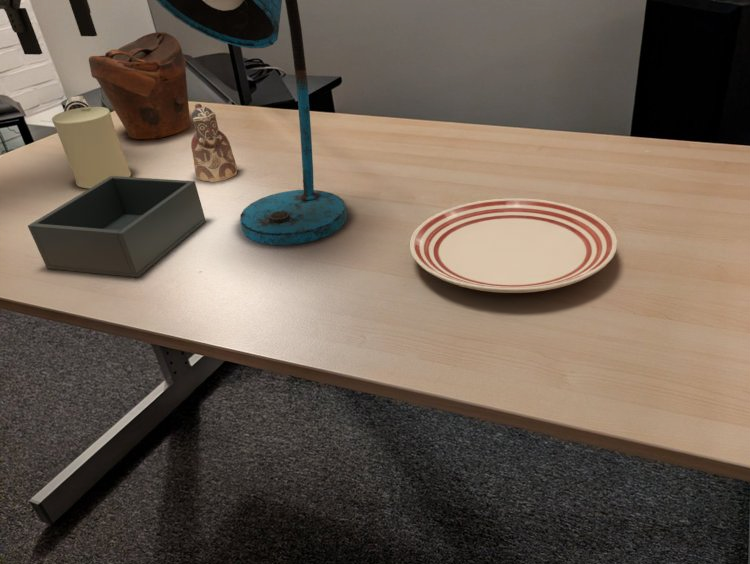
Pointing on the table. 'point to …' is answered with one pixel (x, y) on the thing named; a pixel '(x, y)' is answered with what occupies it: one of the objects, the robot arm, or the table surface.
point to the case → (146, 85)
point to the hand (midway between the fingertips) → (62, 44)
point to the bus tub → (119, 226)
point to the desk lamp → (308, 206)
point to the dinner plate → (513, 245)
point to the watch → (76, 103)
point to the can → (91, 145)
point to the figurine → (211, 148)
